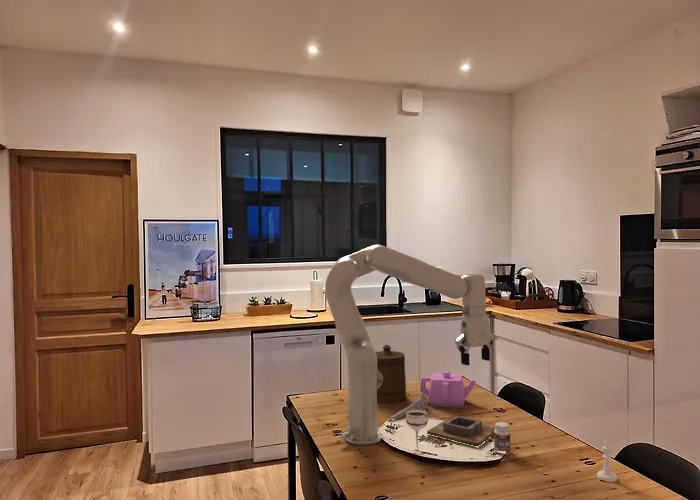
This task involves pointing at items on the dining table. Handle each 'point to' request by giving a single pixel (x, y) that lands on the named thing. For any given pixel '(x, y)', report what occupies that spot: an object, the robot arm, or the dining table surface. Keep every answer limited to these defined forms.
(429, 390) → the teakettle
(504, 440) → the pill bottle
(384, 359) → the wooden container
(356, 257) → the robot arm
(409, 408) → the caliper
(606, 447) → the chess piece
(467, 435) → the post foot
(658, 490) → the dining table surface
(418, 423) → the wineglass
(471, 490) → the dining table surface
